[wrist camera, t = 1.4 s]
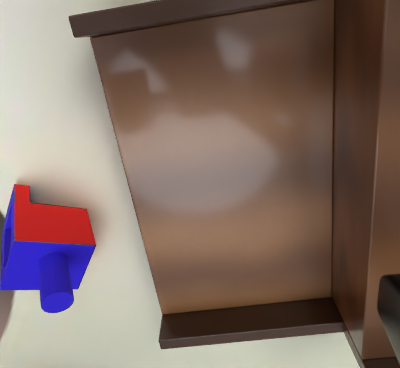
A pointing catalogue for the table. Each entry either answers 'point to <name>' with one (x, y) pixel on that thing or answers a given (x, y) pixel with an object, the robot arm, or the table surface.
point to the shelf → (260, 162)
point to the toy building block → (45, 249)
